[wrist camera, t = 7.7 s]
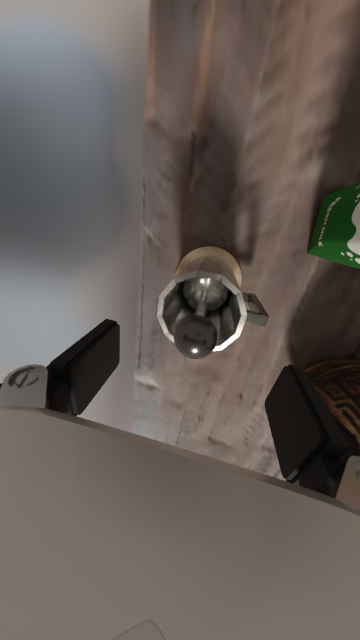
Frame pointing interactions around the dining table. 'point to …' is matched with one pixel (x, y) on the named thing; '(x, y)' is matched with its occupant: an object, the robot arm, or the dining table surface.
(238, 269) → the cork coaster
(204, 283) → the ball-topped lever
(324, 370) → the ceramic vessel
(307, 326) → the dining table surface
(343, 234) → the milk carton
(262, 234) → the dining table surface
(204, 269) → the white mug
